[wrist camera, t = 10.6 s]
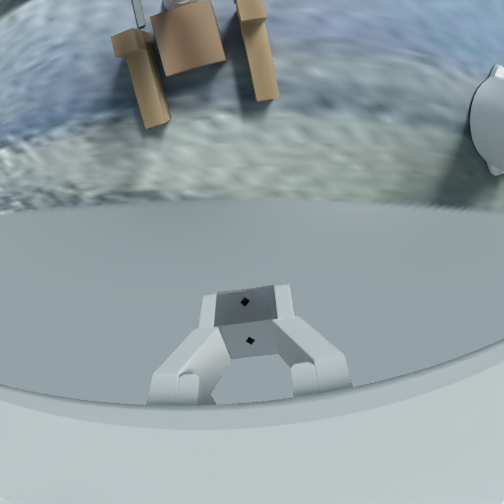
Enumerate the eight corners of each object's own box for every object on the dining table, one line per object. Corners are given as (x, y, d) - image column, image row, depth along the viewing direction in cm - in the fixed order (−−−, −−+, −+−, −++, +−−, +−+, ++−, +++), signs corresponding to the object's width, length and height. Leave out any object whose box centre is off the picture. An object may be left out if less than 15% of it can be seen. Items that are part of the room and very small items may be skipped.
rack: (258, 7, 24) (262, -5, 20) (276, 95, 31) (283, 100, 26) (130, 40, 25) (110, 37, 21) (152, 123, 32) (137, 135, 27)
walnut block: (213, 8, 24) (209, -2, 20) (226, 60, 28) (225, 59, 24) (161, 23, 25) (149, 16, 21) (175, 74, 29) (166, 76, 25)
